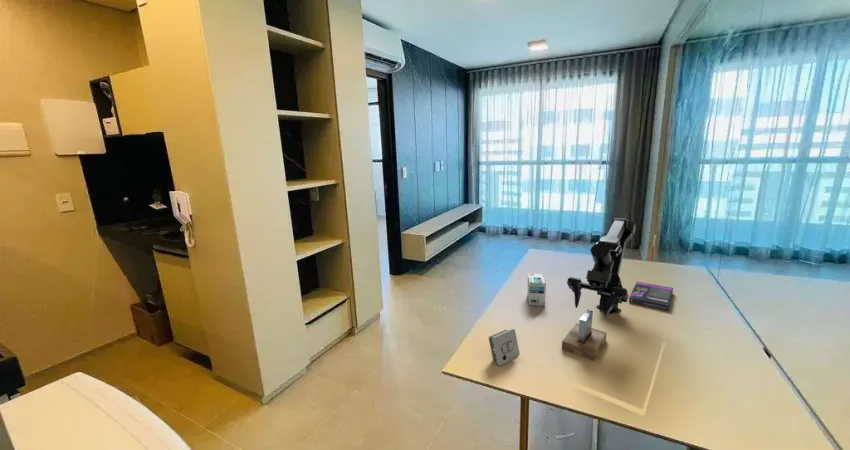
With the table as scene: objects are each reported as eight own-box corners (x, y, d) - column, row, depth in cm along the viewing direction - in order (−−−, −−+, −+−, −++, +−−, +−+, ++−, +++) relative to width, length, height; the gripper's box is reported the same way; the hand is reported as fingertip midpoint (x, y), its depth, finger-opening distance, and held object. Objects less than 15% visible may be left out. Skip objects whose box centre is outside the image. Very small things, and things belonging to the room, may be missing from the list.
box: (636, 288, 157) (628, 303, 142) (636, 281, 156) (628, 295, 141) (672, 295, 148) (668, 312, 133) (673, 287, 147) (669, 304, 132)
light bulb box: (545, 306, 142) (546, 283, 139) (529, 305, 143) (529, 282, 141) (542, 295, 152) (543, 273, 149) (526, 294, 153) (527, 272, 151)
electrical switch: (499, 367, 105) (497, 340, 104) (488, 360, 110) (486, 333, 108) (520, 356, 110) (518, 330, 109) (509, 350, 114) (507, 325, 113)
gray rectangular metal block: (585, 338, 117) (587, 309, 114) (590, 340, 115) (592, 311, 113) (577, 349, 111) (579, 319, 108) (583, 351, 110) (585, 321, 107)
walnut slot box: (575, 333, 122) (576, 323, 121) (605, 342, 115) (606, 332, 114) (561, 351, 111) (562, 341, 110) (593, 363, 105) (594, 352, 104)
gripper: (570, 255, 120) (557, 294, 114) (629, 266, 108) (618, 310, 102) (575, 269, 127) (564, 307, 122) (632, 280, 115) (622, 323, 110)
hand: (590, 311), depth 114 cm, fingers open, 9 cm apart
